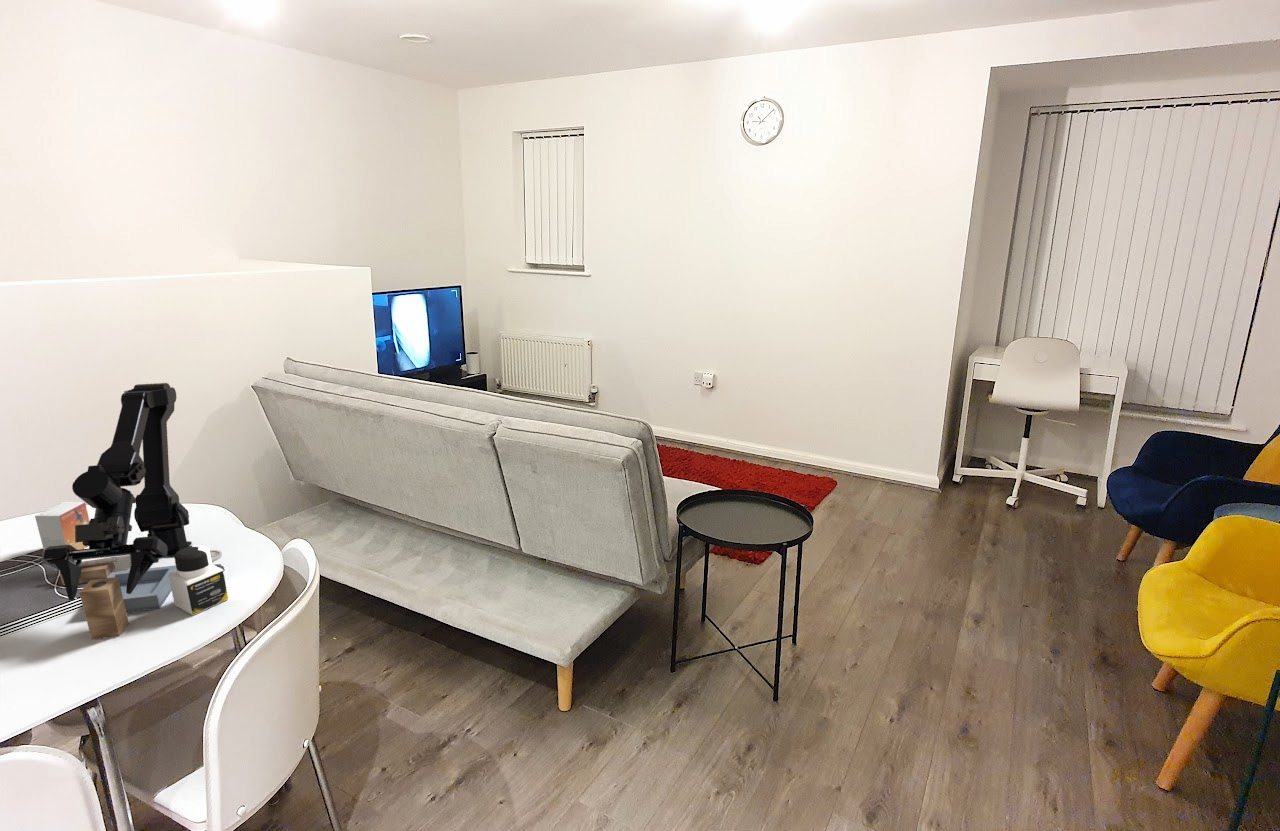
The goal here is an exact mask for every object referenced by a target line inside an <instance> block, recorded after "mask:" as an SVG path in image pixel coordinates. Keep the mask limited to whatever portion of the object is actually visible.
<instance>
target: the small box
mask: <svg viewBox="0 0 1280 831" xmlns="http://www.w3.org/2000/svg"><path fill="white" fill-rule="evenodd" d="M34 518H35V522H36V525H37V530H38V533H39V537H40V540H41V545H42V549H43V551H44V550H45V549H46V548H48V547H49V546H59V545H71V546H73V547H74V548H76V549H77V550H81V549H87V547H88V546H84V545H83V544H82V543H83V542H77V543H75V525H84V524H89V521H90V518H89V514H88V509H87V503H86V502H84V501H61V502H59V503H58V504H56V505H54V506H52V507H50V508H49V509H47V510H44V511H43V512H41V513H39V514H36V515H35V516H34Z"/></svg>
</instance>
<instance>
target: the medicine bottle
mask: <svg viewBox="0 0 1280 831" xmlns="http://www.w3.org/2000/svg"><path fill="white" fill-rule="evenodd" d="M210 550H211V549H210V547H209V546H207V545H203V544H196V545H195V544H194V545H193V544H192V545H190V546H188V547H185V548H183V549H181V550H179V551H178V552H177V553H176V554H175V556H173V558H174V563H175V564H174V565H176V568H177V571H176V572H173V573H171V574H169V580H170V585H171V590H172V591H171V594H172V598H173V604H174V605H175V606H176V607H178V608H179V609H181V610H182V611H184V612H186V613H188V614H190V615H191V616H196V615H198V614H200V613H203V612H204V611H206V609H207V610H208V608H209V609H211V608H213V607H215V606H217V605H219V604H221V603H224V602H226V601H229V600H228V599H229V595H228V591H227V590H228V589H227V585H226V584H227V583H226V580H225V572H224V573H223V571H224V568H222V567H220V568H219V567H217V566H215V564H213V562H212V559H211V554H210ZM221 568H222V569H221ZM210 607H211V608H210Z"/></svg>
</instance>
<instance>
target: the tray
mask: <svg viewBox="0 0 1280 831" xmlns="http://www.w3.org/2000/svg"><path fill="white" fill-rule="evenodd" d="M129 571H130V569H129V570H121V571H113V572H111V573H110V574H109V576H108V577H107V578H113V577H118V579H119V583H120V587H121V591H122V596H123V600H124V604H125V608H126V612H127V613H132V612H142V611H143V612H144V611H148V610H158V609H161V608H162V606H163V604H164V603H165V601H166V600H167V598H168V596H170V594H171V593H172V590H171V585H170V580H169V574H171V573H173V572H176V571H177V568H176V564H174V565H167V566H158V567H150V568H149V569H148V570H147V572H146V573H145V574H144V575H143V577H142V578H141V579H140V581H139V582H138V584H137V585H136V587H135V588H134V590H133V591H132V593H131V594H127V593H126V588H127V581H128V576H129Z"/></svg>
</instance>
